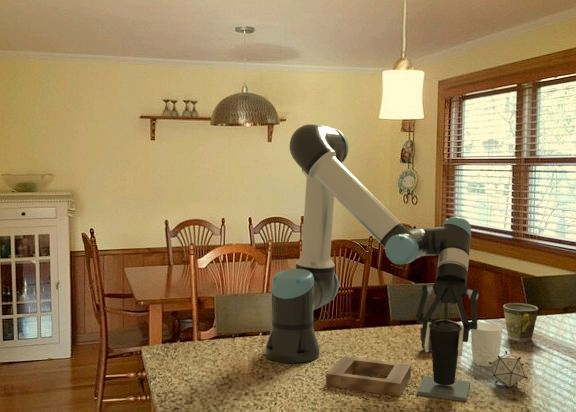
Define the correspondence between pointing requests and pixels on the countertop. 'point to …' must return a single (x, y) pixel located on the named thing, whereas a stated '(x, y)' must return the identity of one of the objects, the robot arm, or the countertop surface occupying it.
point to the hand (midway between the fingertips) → (443, 351)
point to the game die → (508, 370)
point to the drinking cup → (444, 349)
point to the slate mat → (444, 389)
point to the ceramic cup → (520, 321)
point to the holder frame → (391, 385)
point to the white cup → (485, 343)
